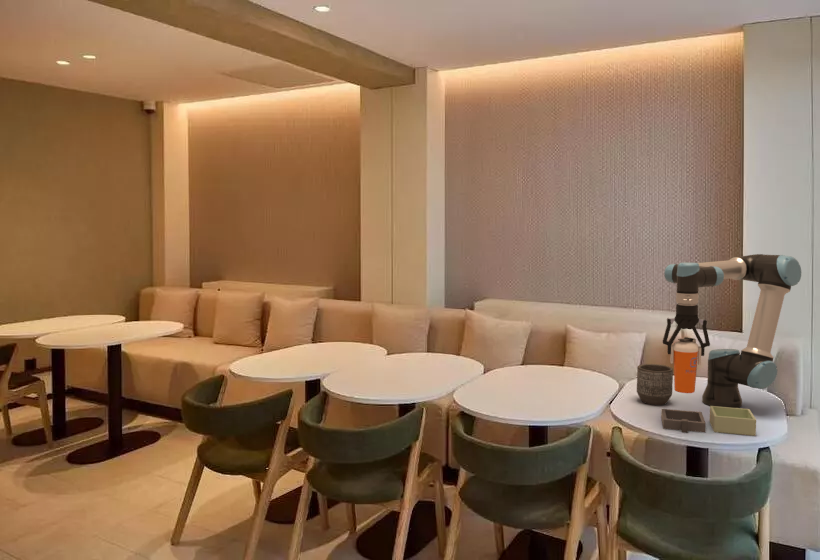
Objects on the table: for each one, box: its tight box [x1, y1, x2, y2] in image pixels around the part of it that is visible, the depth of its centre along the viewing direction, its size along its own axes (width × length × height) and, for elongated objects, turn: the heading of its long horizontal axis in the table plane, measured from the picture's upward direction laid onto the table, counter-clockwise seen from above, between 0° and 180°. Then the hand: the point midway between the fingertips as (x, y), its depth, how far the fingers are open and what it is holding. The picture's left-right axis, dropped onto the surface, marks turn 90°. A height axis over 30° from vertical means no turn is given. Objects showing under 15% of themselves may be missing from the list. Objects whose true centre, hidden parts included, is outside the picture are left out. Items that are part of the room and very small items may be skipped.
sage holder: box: [709, 405, 757, 437], centre depth 239 cm, size 14×14×6 cm
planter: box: [636, 363, 674, 406], centre depth 273 cm, size 14×14×15 cm
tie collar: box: [660, 408, 707, 434], centre depth 243 cm, size 17×14×4 cm
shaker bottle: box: [672, 336, 700, 394], centre depth 242 cm, size 9×9×20 cm
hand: (685, 363), depth 242 cm, fingers closed on shaker bottle, 9 cm apart
